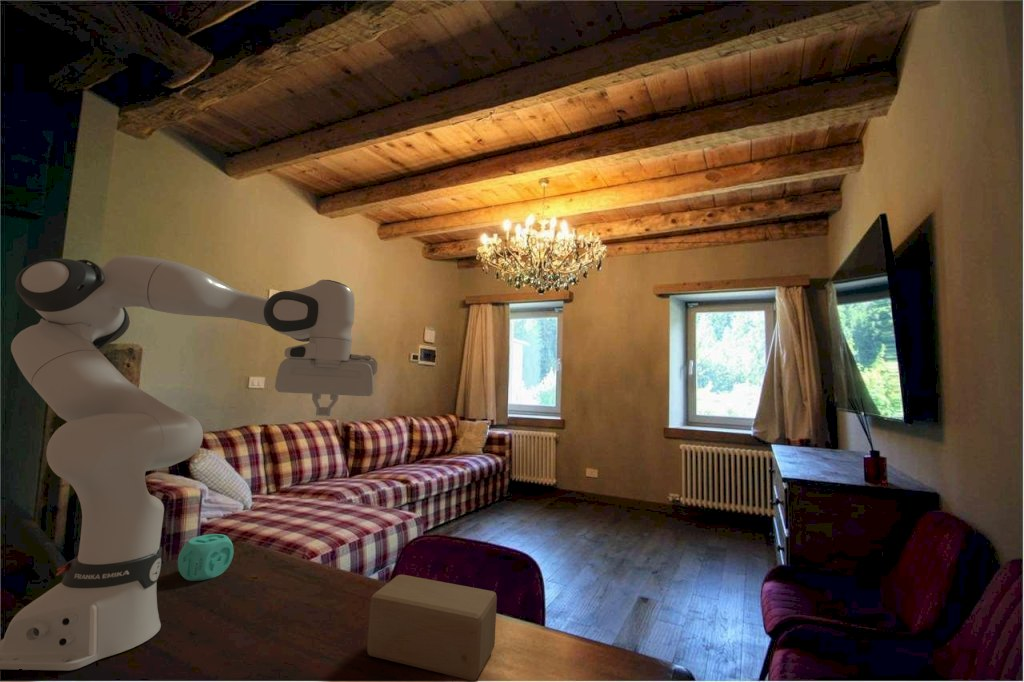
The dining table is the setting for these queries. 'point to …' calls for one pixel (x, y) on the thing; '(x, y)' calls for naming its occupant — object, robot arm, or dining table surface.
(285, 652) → the dining table surface
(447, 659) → the wooden block
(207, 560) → the decorative dice
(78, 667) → the robot arm
